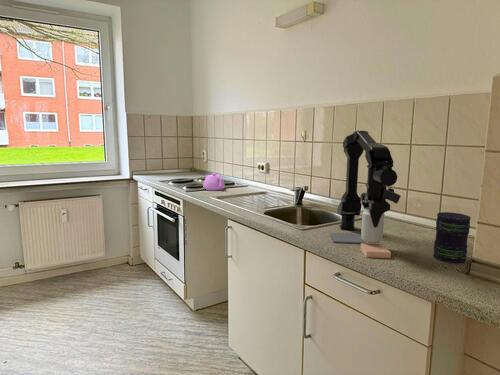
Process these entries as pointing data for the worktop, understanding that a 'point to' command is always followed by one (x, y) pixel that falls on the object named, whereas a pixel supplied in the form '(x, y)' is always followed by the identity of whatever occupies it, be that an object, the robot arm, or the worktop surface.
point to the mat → (346, 238)
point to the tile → (375, 250)
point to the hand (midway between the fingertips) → (372, 224)
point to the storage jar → (451, 237)
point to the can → (371, 228)
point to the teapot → (213, 182)
